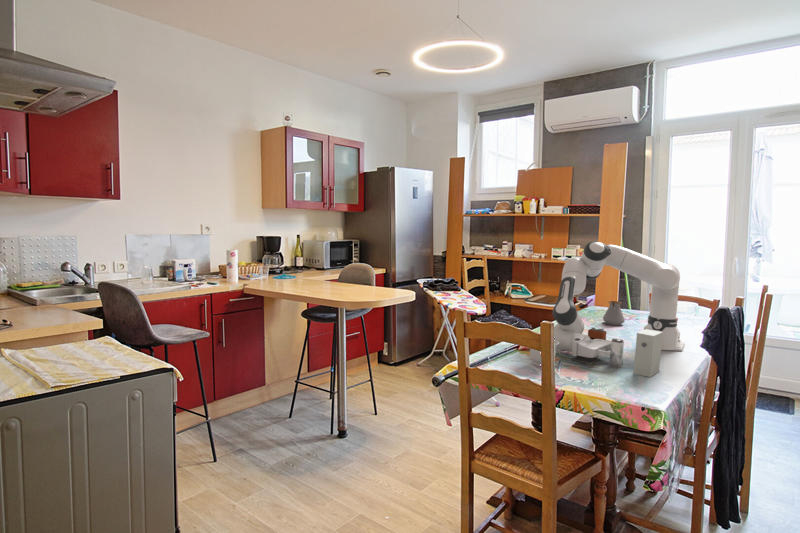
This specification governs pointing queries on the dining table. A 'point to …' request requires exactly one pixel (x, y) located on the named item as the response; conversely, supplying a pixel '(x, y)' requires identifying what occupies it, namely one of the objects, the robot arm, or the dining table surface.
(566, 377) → the dining table surface
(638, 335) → the control box
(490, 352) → the dining table surface
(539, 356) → the teacup
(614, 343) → the can
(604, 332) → the battery
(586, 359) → the mat
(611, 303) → the coffee pot
